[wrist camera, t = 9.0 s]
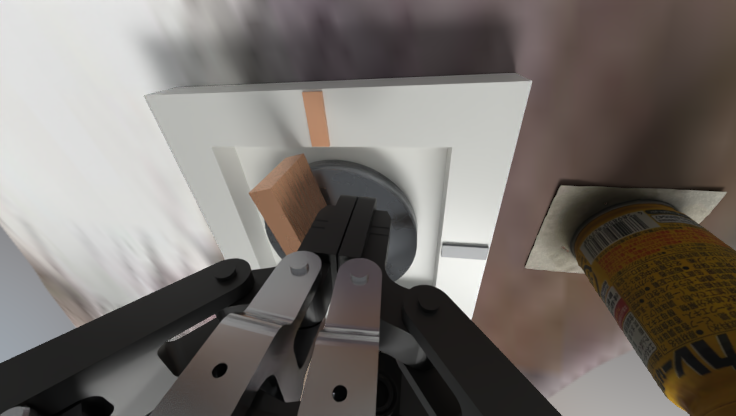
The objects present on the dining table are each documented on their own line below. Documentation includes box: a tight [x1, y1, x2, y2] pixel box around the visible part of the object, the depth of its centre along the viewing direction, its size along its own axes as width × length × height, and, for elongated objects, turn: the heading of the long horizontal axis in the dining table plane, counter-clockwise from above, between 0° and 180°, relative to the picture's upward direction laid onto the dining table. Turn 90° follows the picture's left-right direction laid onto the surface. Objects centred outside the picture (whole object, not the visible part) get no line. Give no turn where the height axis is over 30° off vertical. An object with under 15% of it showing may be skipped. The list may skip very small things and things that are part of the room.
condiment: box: [525, 185, 736, 416], centre depth 13 cm, size 7×8×12 cm
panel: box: [144, 73, 532, 319], centre depth 20 cm, size 20×20×3 cm
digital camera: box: [375, 352, 429, 416], centre depth 29 cm, size 10×5×7 cm, turn 78°
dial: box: [249, 153, 417, 282], centre depth 17 cm, size 12×11×6 cm
